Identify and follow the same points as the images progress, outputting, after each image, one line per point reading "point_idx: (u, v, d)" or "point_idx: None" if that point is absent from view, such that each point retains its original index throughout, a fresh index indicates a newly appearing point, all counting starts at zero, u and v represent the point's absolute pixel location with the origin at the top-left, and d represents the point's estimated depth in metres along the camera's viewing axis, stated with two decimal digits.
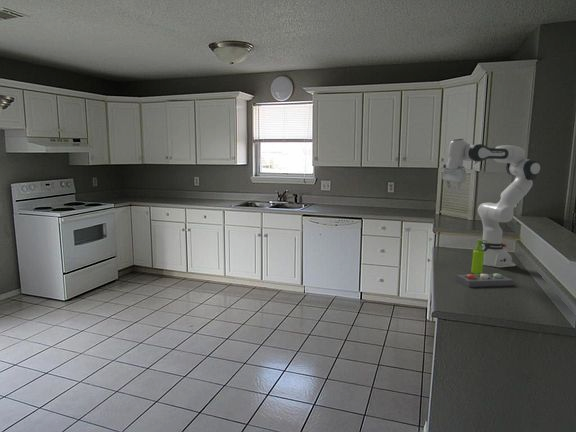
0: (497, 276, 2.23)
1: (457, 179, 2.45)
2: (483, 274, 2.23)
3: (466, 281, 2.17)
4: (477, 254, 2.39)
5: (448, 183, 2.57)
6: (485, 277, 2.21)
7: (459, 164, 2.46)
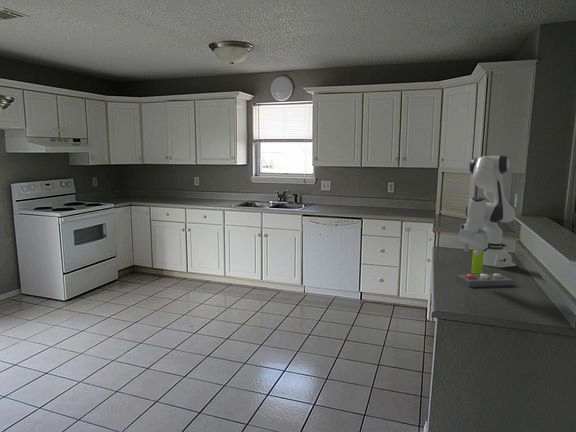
0: (497, 276, 2.23)
1: (477, 245, 2.12)
2: (483, 274, 2.23)
3: (466, 281, 2.17)
4: None
5: (466, 246, 2.25)
6: (485, 277, 2.21)
7: (480, 227, 2.14)
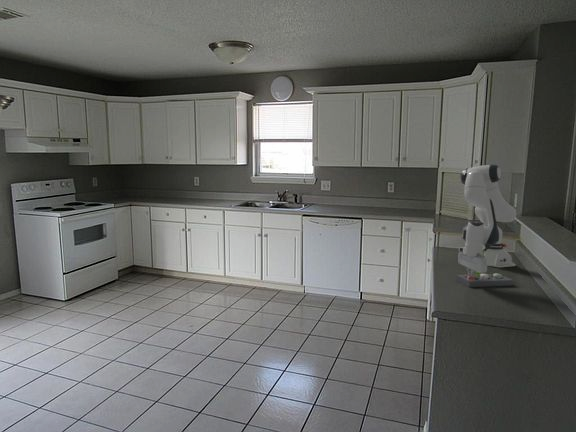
0: (497, 276, 2.23)
1: (476, 269, 2.14)
2: (483, 274, 2.23)
3: (466, 281, 2.17)
4: None
5: (469, 270, 2.22)
6: (485, 277, 2.21)
7: (478, 251, 2.15)
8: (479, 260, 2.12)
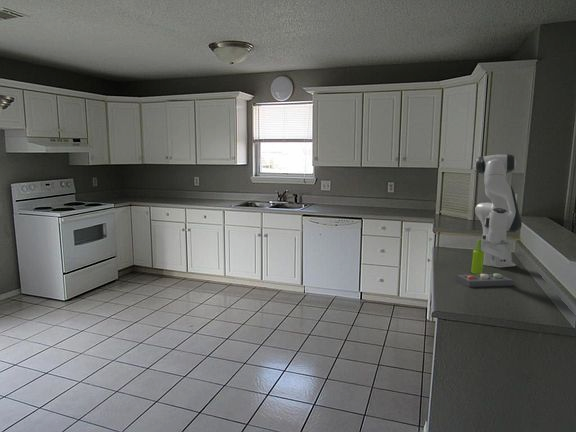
0: (497, 276, 2.23)
1: (500, 256, 2.15)
2: (483, 274, 2.23)
3: (466, 281, 2.17)
4: (477, 254, 2.39)
5: (493, 258, 2.24)
6: (485, 277, 2.21)
7: (502, 238, 2.17)
8: (503, 247, 2.13)
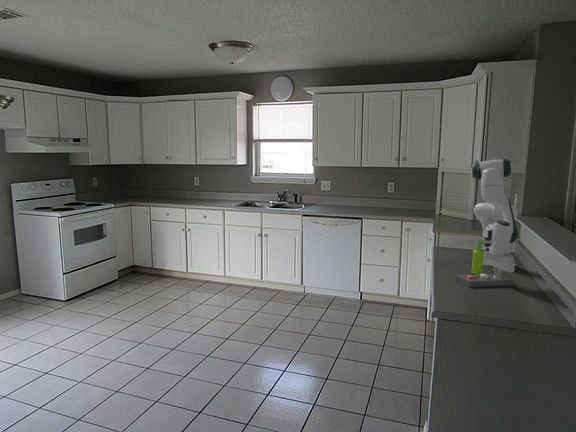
0: None
1: (504, 268, 2.17)
2: (483, 274, 2.23)
3: (466, 281, 2.17)
4: (477, 254, 2.39)
5: (496, 270, 2.25)
6: (485, 277, 2.21)
7: (506, 251, 2.18)
8: (506, 259, 2.15)
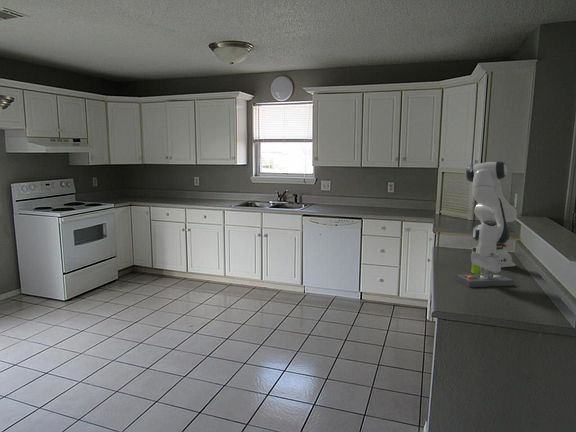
0: None
1: (490, 268, 2.15)
2: (483, 276, 2.23)
3: (466, 281, 2.17)
4: None
5: (483, 270, 2.24)
6: None
7: (492, 251, 2.16)
8: (493, 260, 2.13)
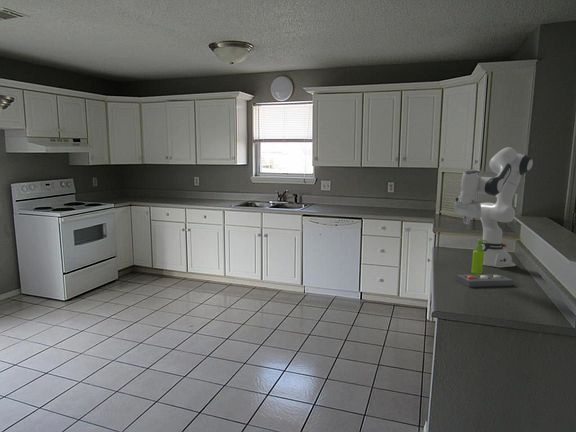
0: None
1: (471, 215, 2.26)
2: (483, 276, 2.23)
3: (466, 281, 2.17)
4: (477, 254, 2.39)
5: (465, 218, 2.35)
6: None
7: (473, 198, 2.28)
8: (474, 206, 2.24)
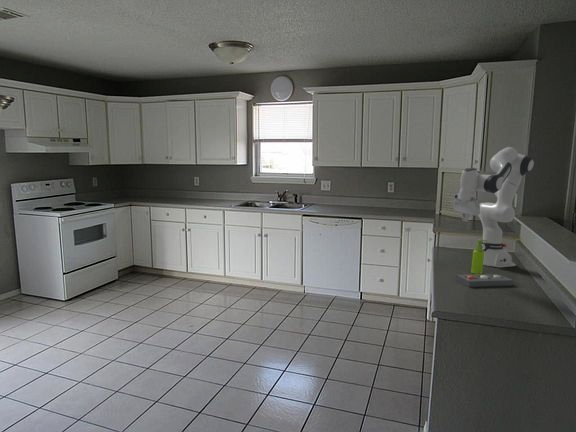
0: None
1: (470, 212, 2.27)
2: (483, 276, 2.23)
3: (466, 281, 2.17)
4: (477, 254, 2.39)
5: (464, 215, 2.36)
6: None
7: (472, 195, 2.28)
8: (472, 203, 2.25)
